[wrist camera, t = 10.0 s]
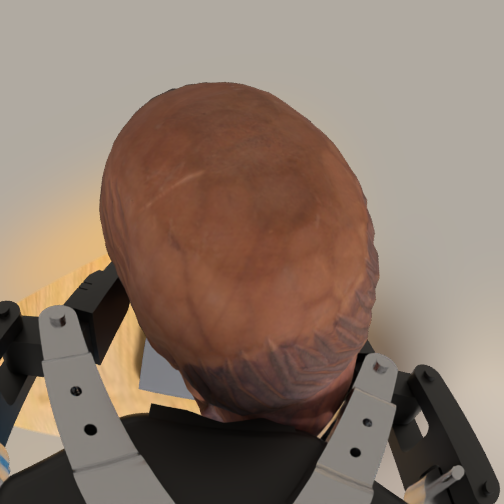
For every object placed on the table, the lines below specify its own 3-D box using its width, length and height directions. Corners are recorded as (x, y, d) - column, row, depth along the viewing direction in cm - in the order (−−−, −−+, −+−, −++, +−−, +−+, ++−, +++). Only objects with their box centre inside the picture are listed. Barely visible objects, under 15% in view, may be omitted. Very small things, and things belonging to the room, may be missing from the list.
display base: (142, 386, 28) (138, 388, 26) (163, 268, 34) (161, 261, 32) (251, 403, 30) (255, 406, 28) (264, 286, 36) (269, 280, 33)
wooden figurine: (135, 271, 21) (48, 55, 4) (208, 242, 23) (255, 17, 6) (200, 412, 18) (246, 595, 1) (275, 375, 20) (506, 373, 3)
